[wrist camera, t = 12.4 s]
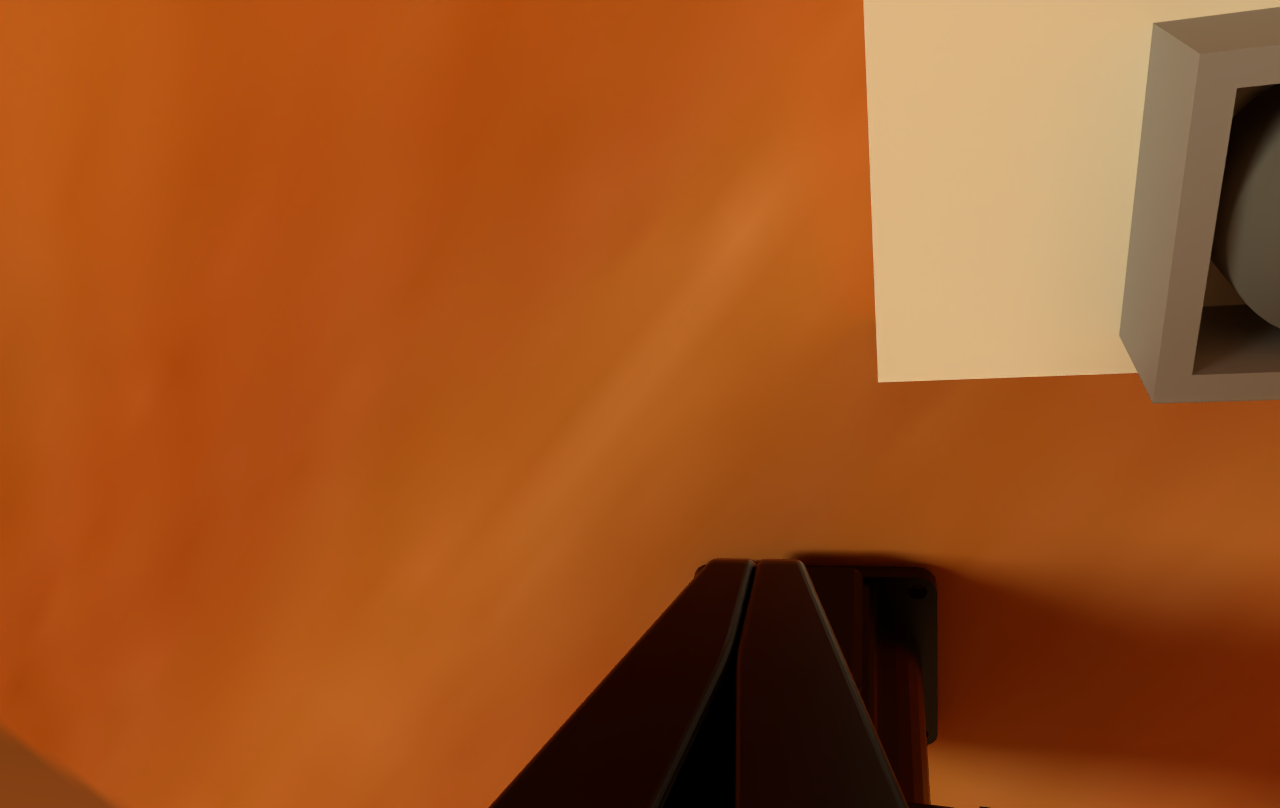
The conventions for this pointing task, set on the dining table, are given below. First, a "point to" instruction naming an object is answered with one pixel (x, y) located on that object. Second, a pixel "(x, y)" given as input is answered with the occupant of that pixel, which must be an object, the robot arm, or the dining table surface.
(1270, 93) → the grey dome
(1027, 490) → the dining table surface
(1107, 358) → the console
